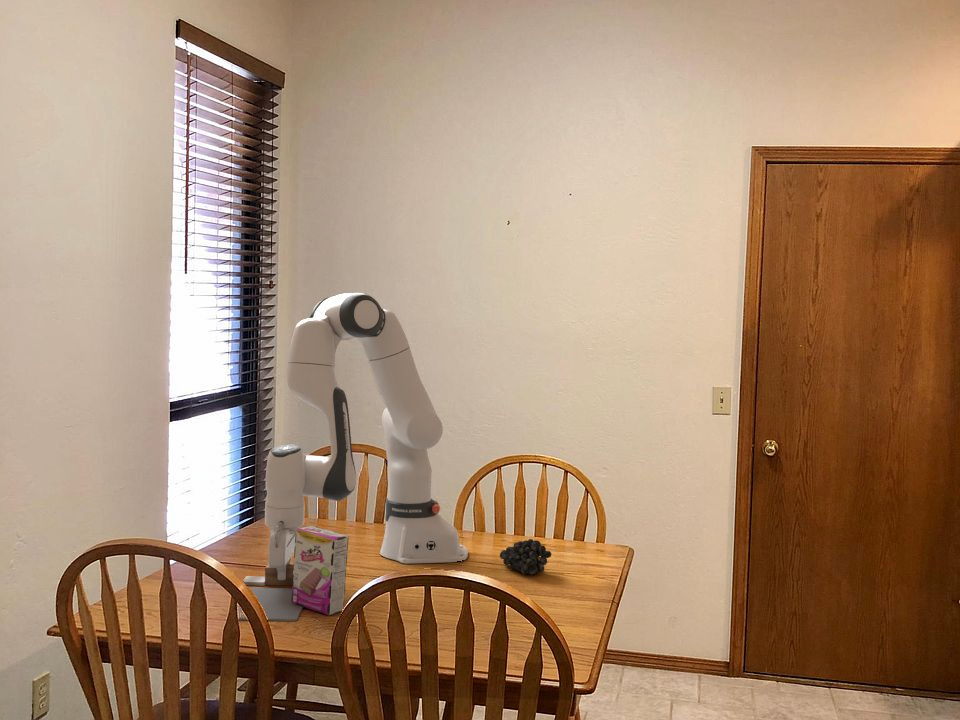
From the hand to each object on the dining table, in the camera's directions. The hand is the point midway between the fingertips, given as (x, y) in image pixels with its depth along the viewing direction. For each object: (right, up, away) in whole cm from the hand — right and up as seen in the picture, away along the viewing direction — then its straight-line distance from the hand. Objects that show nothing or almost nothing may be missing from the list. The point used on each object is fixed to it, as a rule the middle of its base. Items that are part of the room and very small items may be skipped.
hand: (283, 576), depth 225 cm
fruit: (+55, -2, +17) cm, 58 cm away
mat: (0, -3, -15) cm, 15 cm away
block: (-3, -2, 0) cm, 3 cm away
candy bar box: (+10, -3, -17) cm, 20 cm away
